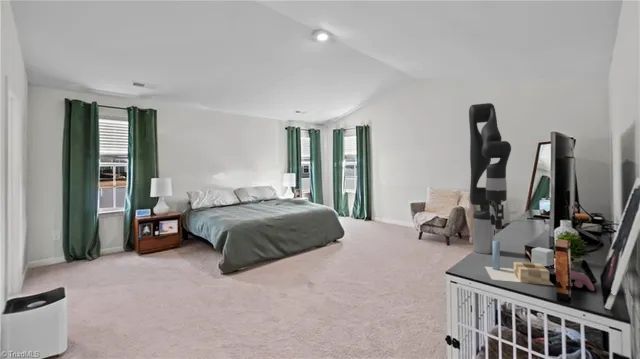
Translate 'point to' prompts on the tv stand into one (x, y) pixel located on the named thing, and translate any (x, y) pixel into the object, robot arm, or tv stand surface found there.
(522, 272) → the checkered wooden block
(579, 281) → the video game controller
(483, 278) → the tv stand surface
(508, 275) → the felt mat
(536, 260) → the product box
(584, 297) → the tv stand surface
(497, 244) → the dowel
